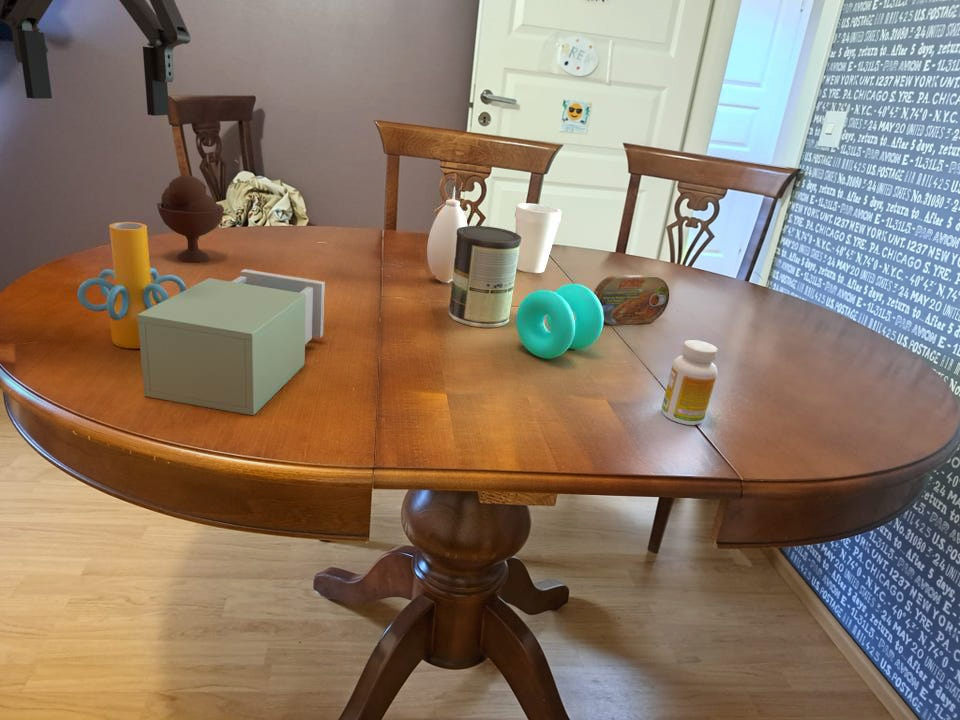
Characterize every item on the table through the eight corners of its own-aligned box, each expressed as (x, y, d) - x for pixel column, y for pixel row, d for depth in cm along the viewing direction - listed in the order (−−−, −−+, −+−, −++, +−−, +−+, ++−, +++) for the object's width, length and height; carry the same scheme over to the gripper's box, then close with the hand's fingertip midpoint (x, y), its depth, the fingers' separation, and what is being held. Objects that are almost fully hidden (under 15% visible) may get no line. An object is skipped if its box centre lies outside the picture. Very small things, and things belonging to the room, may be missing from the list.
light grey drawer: (264, 308, 99) (264, 258, 96) (338, 320, 98) (340, 270, 95) (194, 357, 81) (191, 297, 78) (283, 373, 80) (284, 312, 77)
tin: (595, 326, 113) (604, 278, 109) (585, 319, 115) (594, 273, 112) (664, 323, 119) (675, 277, 116) (653, 316, 122) (664, 272, 118)
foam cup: (514, 273, 137) (523, 211, 132) (502, 261, 145) (511, 201, 140) (557, 276, 140) (567, 214, 134) (543, 263, 148) (552, 205, 143)
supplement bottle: (712, 421, 84) (732, 351, 80) (685, 429, 81) (705, 357, 77) (678, 402, 88) (696, 335, 84) (652, 410, 85) (669, 340, 81)
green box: (211, 348, 86) (208, 277, 82) (304, 364, 85) (306, 293, 81) (144, 396, 73) (136, 314, 69) (253, 415, 72) (252, 333, 68)
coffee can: (435, 315, 108) (444, 230, 102) (468, 302, 116) (477, 222, 111) (490, 333, 104) (502, 244, 98) (520, 317, 112) (532, 235, 106)
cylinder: (87, 362, 78) (71, 238, 73) (80, 330, 86) (66, 216, 80) (197, 351, 85) (190, 236, 79) (181, 322, 93) (175, 216, 87)
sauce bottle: (468, 279, 129) (479, 185, 122) (460, 290, 122) (471, 191, 115) (430, 272, 130) (438, 179, 123) (419, 283, 123) (428, 185, 116)
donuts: (600, 356, 100) (613, 293, 96) (559, 370, 93) (572, 303, 89) (549, 334, 106) (559, 274, 102) (507, 346, 99) (517, 282, 95)
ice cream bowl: (236, 262, 121) (234, 179, 116) (175, 269, 114) (169, 180, 108) (209, 248, 128) (205, 168, 122) (149, 253, 120) (142, 169, 114)
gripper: (220, -108, 65) (226, 120, 73) (-15, -134, 67) (17, 91, 75) (177, -132, 58) (190, 123, 66) (-83, -160, 60) (-39, 91, 68)
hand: (98, 106), depth 71 cm, fingers open, 13 cm apart
